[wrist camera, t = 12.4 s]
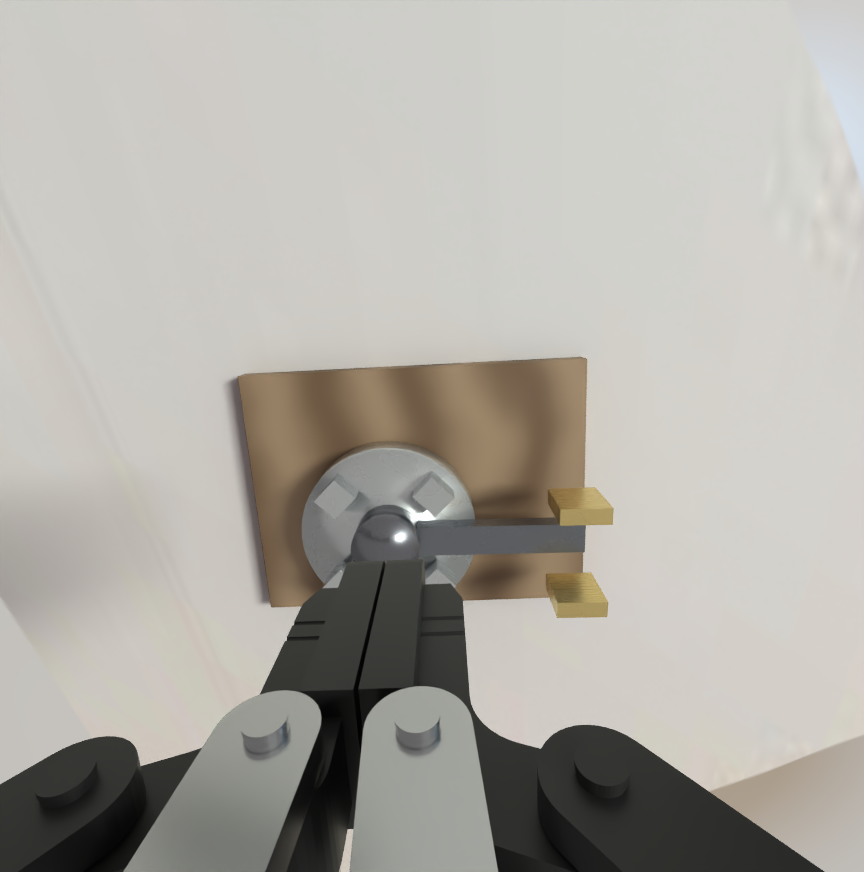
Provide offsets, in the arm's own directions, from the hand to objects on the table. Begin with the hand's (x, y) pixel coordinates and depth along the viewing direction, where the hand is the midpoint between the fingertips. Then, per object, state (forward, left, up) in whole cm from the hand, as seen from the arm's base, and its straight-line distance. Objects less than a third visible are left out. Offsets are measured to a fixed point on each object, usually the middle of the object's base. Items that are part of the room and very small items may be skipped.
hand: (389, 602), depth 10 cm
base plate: (-1, -7, -27) cm, 28 cm away
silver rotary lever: (+1, -9, -25) cm, 27 cm away
